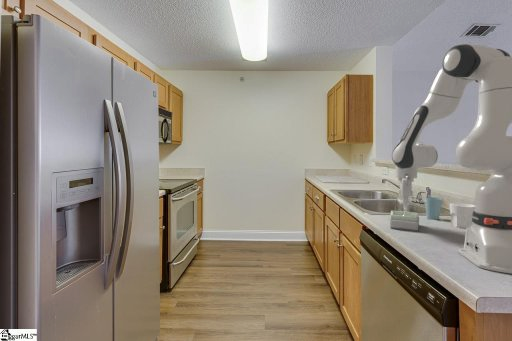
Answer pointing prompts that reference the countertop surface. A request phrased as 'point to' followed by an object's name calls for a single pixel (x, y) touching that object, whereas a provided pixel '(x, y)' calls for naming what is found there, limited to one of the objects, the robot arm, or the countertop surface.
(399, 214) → the grey green box
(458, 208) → the cup
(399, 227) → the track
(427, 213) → the cup
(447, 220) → the countertop surface
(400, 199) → the wineglass
